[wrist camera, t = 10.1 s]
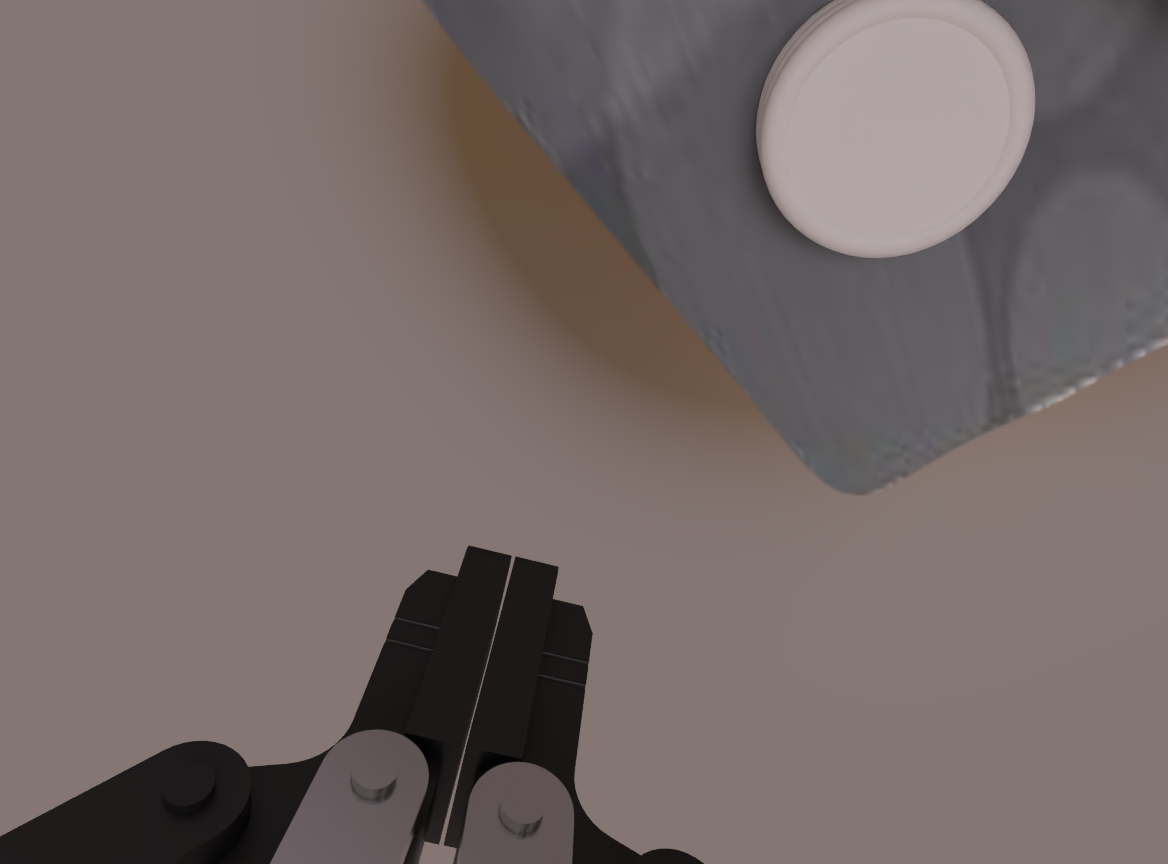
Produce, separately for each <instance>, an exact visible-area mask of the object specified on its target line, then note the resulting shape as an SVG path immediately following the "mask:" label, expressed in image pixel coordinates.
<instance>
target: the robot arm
mask: <svg viewBox="0 0 1168 864" xmlns="http://www.w3.org/2000/svg"><path fill="white" fill-rule="evenodd" d="M511 557H512V556H510V555H506V554H502V553H498V552H493V551H489V550H485V549H481V548H477V547H473V546H468V548H467V550H466V553H465V557H464V559H463V562H462V565H461V568H460V571H459V574H458V577H457V576H452V575H448V574H444V573H440V572H436V571H431V570H427V571H426V572H425V573H424V574H423V575H422V576H421V577H419V578H418V579H417V580H416V581H415V582H414V583H413V584H412V585H411V586H409V587H408V588H407V589H406V591H405V593H404V596H403V598H402V601H401V603H400V606H399V608H398V611H397V613H396V616H395V619H394V621H393V623H392V625H391V628H390V630H389V633H388V635H387V639H386V642H385V643H384V645H383V648H382V650H381V653H380V655H379V658H378V660H377V663H376V665H375V667H374V670H373V672H372V675H371V677H370V680H369V682H368V685H367V687H366V690H365V692H364V695H363V697H362V700H361V702H360V705H359V707H358V710H357V712H356V715H355V717H354V720H353V722H352V724H351V726H350V728H349V729H348V731H347V732H346V734H345V735H344V736H343V737H342V738H341V739H340V740H339V741H338V742H337V743H336V744H335V745H334V746H332V747H331V748H330V749H329V750H327V751H325V752H323V753H322V754H320V755H318V756H316V757H313V758H311V759H308V760H304V761H301V762H296V763H289V764H280V765H279V764H278V765H266V766H254V767H248V766H247V764H246V762H245V760H244V759H243V758H242V757H241V756H240V755H239V754H238V753H237V752H236V751H234V750H233V749H231V748H230V747H227V746H226V745H223V744H219V743H216V742H210V741H192V742H187V743H182V744H179V745H175V746H172V747H171V748H168V749H166V750H164V751H162V752H160V753H158V754H156V755H154V756H152V757H150V758H148V759H146V760H145V761H143V762H141V763H139V764H137V765H135V766H133V767H131V768H129V769H127V770H126V771H124V772H122V773H120V774H118V775H116V776H114V777H112V778H110V779H108V780H107V781H105V782H103V783H101V784H99V785H97V786H95V787H93V788H91V789H90V790H88V791H86V792H84V793H82V794H80V795H78V796H76V797H74V798H72V799H70V800H69V801H67V802H65V803H63V804H61V805H59V806H57V807H55V808H54V809H52V810H50V811H48V812H46V813H44V814H42V815H40V816H38V817H36V818H34V819H33V820H31V821H29V822H27V823H25V824H23V825H21V826H19V827H18V828H15V829H14V830H12V831H10V832H8V833H6V834H4V835H2V836H0V864H418V863H419V860H420V856H421V852H422V849H423V845H424V842H425V841H426V842H430V843H434V844H439V842H440V838H441V835H442V831H443V827H444V823H445V819H446V815H447V812H448V808H449V804H450V800H451V796H452V793H453V789H454V785H455V781H456V777H457V773H458V769H459V766H460V762H461V758H462V754H463V751H464V747H465V743H466V739H467V735H468V731H469V728H470V724H471V720H472V716H473V712H474V708H475V705H476V701H477V697H478V693H479V689H480V685H481V682H482V678H483V674H484V670H485V667H486V663H487V659H488V655H489V651H490V647H491V643H492V639H493V635H494V631H495V627H496V623H497V618H498V614H499V609H500V605H501V601H502V597H503V592H504V588H505V583H506V579H507V575H508V571H509V566H510V562H511ZM557 574H558V567H557V566H553V565H549V564H545V563H540V562H536V561H532V560H528V559H524V558H520V557H516V558H515V561H514V565H513V569H512V572H511V576H510V580H509V584H508V588H507V592H506V596H505V599H504V603H503V607H502V611H501V615H500V618H499V622H498V626H497V630H496V634H495V638H494V642H493V645H492V649H491V653H490V657H489V661H488V665H487V668H486V672H485V676H484V680H483V684H482V688H481V692H480V695H479V699H478V703H477V708H476V711H475V715H474V719H473V722H472V726H471V730H470V734H469V738H468V742H467V745H466V750H465V754H464V759H463V763H462V767H461V772H460V776H459V780H458V785H457V790H456V794H455V798H454V803H453V807H452V811H451V816H450V820H449V824H448V829H447V833H446V837H445V842H444V845H445V846H450V847H454V848H457V850H456V854H455V858H454V862H453V864H704V863H702V862H701V861H699V860H698V859H697V858H695V857H693V856H691V855H689V854H687V853H685V852H682V851H679V850H674V849H657V850H652V851H649V852H647V853H644V854H643V855H639V854H638V853H636V852H634V851H633V850H631V849H629V848H628V847H626V846H624V845H623V844H621V843H619V842H618V841H616V840H614V839H613V838H611V837H610V836H608V835H607V834H605V833H604V832H602V831H601V830H600V829H599V828H598V827H597V826H596V825H595V824H594V823H593V822H592V821H591V820H590V819H589V817H588V816H587V815H586V813H585V811H584V810H583V808H582V806H581V804H580V802H579V800H578V797H577V793H576V790H575V783H574V773H575V764H576V756H577V749H578V741H579V733H580V725H581V718H582V710H583V703H584V695H585V685H586V679H587V672H588V663H589V656H590V648H591V641H592V634H593V633H592V631H591V628H590V625H589V622H588V619H587V616H586V613H585V611H584V608H583V606H580V605H576V604H571V603H567V602H563V601H559V600H555V599H553V595H554V589H555V584H556V579H557Z"/></svg>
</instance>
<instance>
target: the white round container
mask: <svg viewBox="0 0 1168 864" xmlns="http://www.w3.org/2000/svg"><path fill="white" fill-rule="evenodd" d="M1034 112H1035V85H1034V79H1033V74H1032V68H1031V65H1030V62H1029V59H1028V56H1027V53H1026V50H1025V48H1024V46H1023V45H1022V43H1021V41H1020V39H1019V37H1018V35H1017V34H1016V33H1015V31H1014V30H1013V29H1012V27H1011V26H1010V25H1009V24H1008V22H1007V21H1006V20H1005V19H1004V18H1003V17H1002V16H1000V15H999V14H998V13H997V12H996V11H995V10H994V9H992V8H991V7H990V6H988V5H987V4H985V3H984V2H983V1H981V0H833V1H832V2H830V3H828V4H827V5H825V6H824V7H823V8H821V9H820V10H819V11H817V12H816V13H815V14H813V15H812V16H811V17H810V18H809V19H808V20H807V21H806V22H805V23H804V24H803V25H802V26H801V27H800V28H799V29H798V30H797V31H796V32H795V33H794V35H793V36H792V37H791V38H790V40H789V41H788V42H787V43H786V45H785V46H784V47H783V49H782V51H781V52H780V54H779V55H778V57H777V58H776V60H775V62H774V64H773V66H772V68H771V70H770V72H769V74H768V76H767V78H766V81H765V84H764V87H763V90H762V93H761V96H760V101H759V106H758V111H757V121H756V142H757V150H758V155H759V160H760V163H761V168H762V171H763V176H764V179H765V182H766V185H767V188H768V190H769V193H770V195H771V197H772V198H773V200H774V202H775V204H776V206H777V207H778V209H779V210H780V211H781V213H782V214H783V216H784V217H785V218H786V219H787V220H788V221H789V222H790V223H791V224H792V225H793V226H794V227H795V228H796V229H797V230H798V231H800V232H801V233H802V234H803V235H805V236H806V237H807V238H809V239H811V240H812V241H814V242H816V243H817V244H819V245H821V246H824V247H826V248H828V249H830V250H833V251H836V252H839V253H843V254H846V255H850V256H857V257H863V258H887V257H897V256H901V255H906V254H911V253H914V252H917V251H920V250H923V249H927V248H929V247H931V246H934V245H936V244H938V243H940V242H942V241H944V240H946V239H948V238H950V237H951V236H953V235H955V234H956V233H958V232H960V231H961V230H963V229H964V228H965V227H967V226H968V225H969V224H971V223H972V222H973V221H974V220H976V219H977V218H978V217H979V216H980V215H981V214H982V213H983V212H984V211H985V210H986V209H987V208H988V207H990V205H991V204H992V203H993V202H994V201H995V200H996V198H997V197H998V196H999V195H1000V194H1001V193H1002V191H1003V190H1004V189H1005V187H1006V186H1007V184H1008V183H1009V181H1010V180H1011V178H1012V177H1013V175H1014V173H1015V171H1016V170H1017V168H1018V166H1019V164H1020V162H1021V160H1022V158H1023V155H1024V152H1025V150H1026V147H1027V144H1028V142H1029V139H1030V134H1031V130H1032V126H1033V122H1034Z"/></svg>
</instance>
